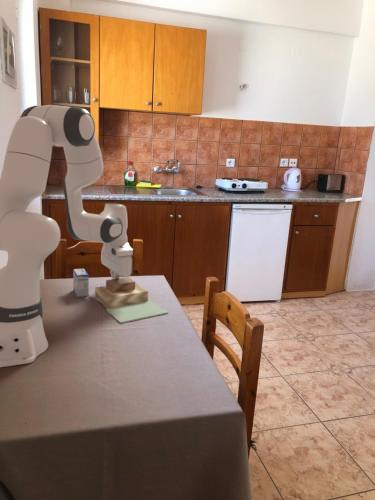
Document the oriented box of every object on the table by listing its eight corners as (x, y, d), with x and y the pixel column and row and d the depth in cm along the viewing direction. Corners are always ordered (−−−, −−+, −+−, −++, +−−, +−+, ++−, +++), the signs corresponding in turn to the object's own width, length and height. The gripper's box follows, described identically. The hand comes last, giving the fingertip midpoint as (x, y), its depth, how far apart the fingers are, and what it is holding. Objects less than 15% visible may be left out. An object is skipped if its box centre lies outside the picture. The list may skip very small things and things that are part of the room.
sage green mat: (120, 323, 134) (120, 322, 134) (106, 310, 144) (106, 309, 144) (168, 313, 144) (168, 312, 144) (151, 301, 153) (151, 300, 153)
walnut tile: (112, 293, 149) (112, 285, 148) (106, 287, 154) (106, 280, 153) (135, 289, 154) (135, 281, 153) (128, 284, 159) (128, 277, 158)
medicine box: (73, 290, 161) (72, 269, 159) (84, 289, 163) (84, 268, 161) (77, 297, 154) (76, 275, 152) (89, 296, 156) (88, 274, 154)
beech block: (107, 308, 145) (107, 298, 144) (95, 297, 155) (95, 287, 154) (148, 301, 154) (148, 291, 153) (133, 291, 163) (133, 281, 162)
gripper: (96, 240, 160) (97, 274, 164) (118, 253, 144) (118, 290, 147) (111, 239, 164) (111, 272, 167) (135, 251, 147) (134, 288, 151)
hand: (115, 281), depth 157 cm, fingers closed
